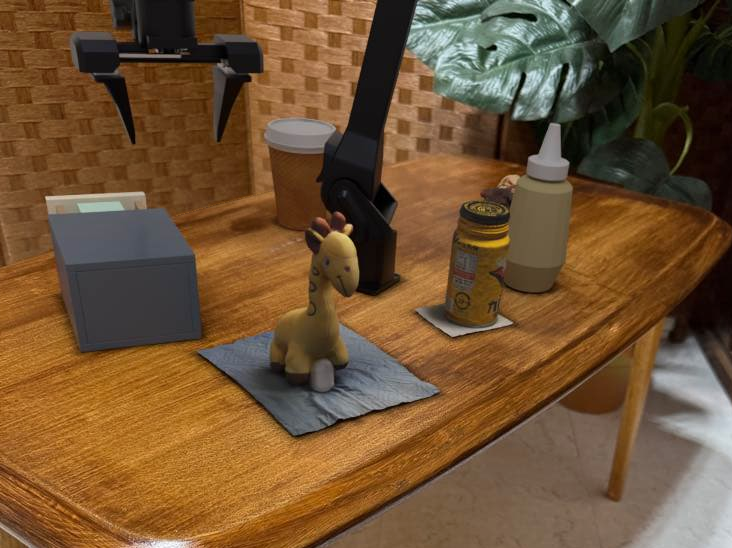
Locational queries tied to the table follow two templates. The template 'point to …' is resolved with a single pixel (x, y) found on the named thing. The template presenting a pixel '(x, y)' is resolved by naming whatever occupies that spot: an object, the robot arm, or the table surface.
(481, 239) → the condiment
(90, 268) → the cabinet
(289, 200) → the disposable coffee cup
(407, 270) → the table surface
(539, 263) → the squeeze bottle
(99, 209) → the block
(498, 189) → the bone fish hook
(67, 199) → the drawer
